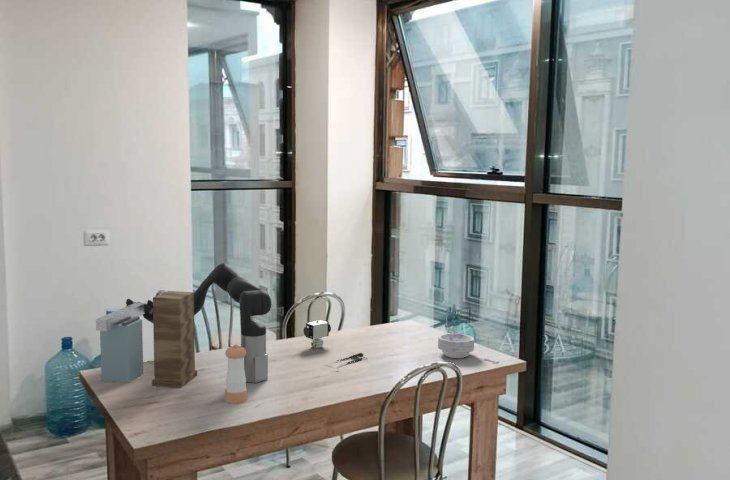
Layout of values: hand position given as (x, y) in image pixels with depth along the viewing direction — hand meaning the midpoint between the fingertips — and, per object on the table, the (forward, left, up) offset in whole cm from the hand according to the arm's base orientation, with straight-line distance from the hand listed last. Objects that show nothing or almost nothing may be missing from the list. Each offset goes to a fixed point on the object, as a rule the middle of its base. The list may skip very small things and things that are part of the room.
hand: (137, 301), depth 254 cm
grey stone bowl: (-81, -99, -26) cm, 131 cm away
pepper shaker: (-54, -3, -26) cm, 60 cm away
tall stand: (-23, 0, -26) cm, 35 cm away
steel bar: (-6, +11, -5) cm, 13 cm away
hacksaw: (-55, -60, -26) cm, 86 cm away
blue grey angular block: (-6, +11, -26) cm, 29 cm away
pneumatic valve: (-30, -67, -26) cm, 78 cm away
